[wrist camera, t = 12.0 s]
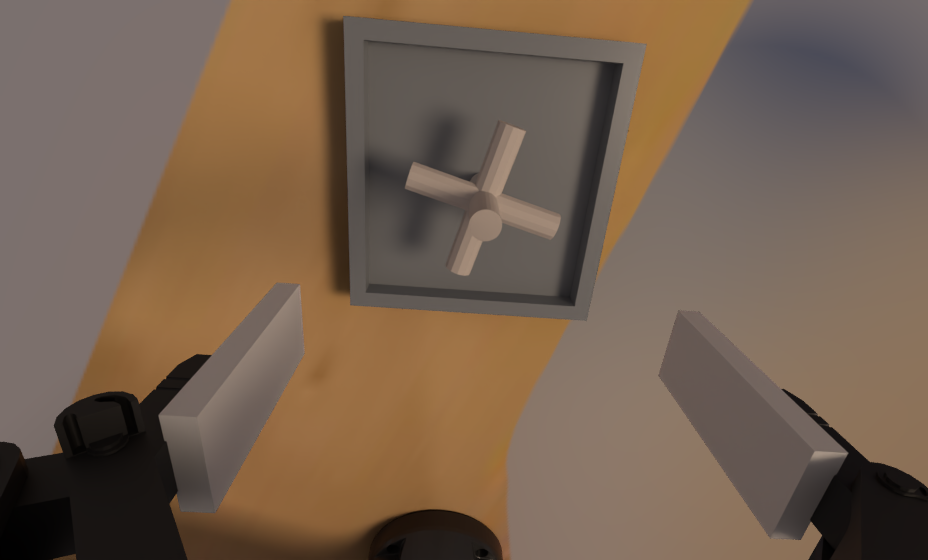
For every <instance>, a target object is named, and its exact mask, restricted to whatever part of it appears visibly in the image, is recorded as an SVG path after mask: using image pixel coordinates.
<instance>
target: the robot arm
mask: <svg viewBox="0 0 928 560" xmlns="http://www.w3.org/2000/svg"><path fill="white" fill-rule="evenodd" d="M304 354H305V353H304V338H303V323H302V308H301V293H300V284H289V283H276V284H275V285H274V286H273V288H272V289H271V290H270V291H269V292H268V293H267V294H266V295H265V297H264V298H263V299H262V300H261V301H260V302H259V303H258V304H257V305H256V307H255V308H254V309H253V310H252V311H251V312H250V313H249V314H248V316H247V317H246V318H245V319H244V320H243V321H242V322H241V323H240V324H239V326H238V327H237V328H236V329H235V330H234V331H233V332H232V333H231V335H230V336H229V337H228V338H227V339H226V340H225V341H224V342H223V343H222V345H221V346H220V347H219V348H218V349H217V350H216V351H215V352H214V354H213V355H201V354H196V355H194V356H193V357H191V358H189V359H187V360H186V361H184V362H182V363H180V364H178V365H177V367H176V368H175V369H174V370H173V371H172V372H171V373H170V374H169V375H168V376H167V377H166V379H164V380H163V381H162V382H161V383H160V384H159V385H158V386H157V387H156V390H153V391H152V392H151V393H150V394H149V395H148V396H147V397H146V398H145V399H144V400H143V401H142V402H141V403H140V404H139V402H138V399H137V398H136V397H135V396H134V395H133V394H130V393H126V392H106V393H101V394H96V395H92V396H90V397H87V398H84V399H82V400H79V401H77V402H76V403H74V404H72V405H71V406H69V407H67V408H66V409H64V410H63V412H62V413H61V414H59V415H58V417H57V418H56V421H55V424H54V428H55V431H56V433H57V436H58V439H59V442H60V445H61V448H62V450H63V453H59V454H53V455H47V456H41V457H35V458H29V459H24V457H23V455H22V452H21V450H20V448H19V447H17V446H16V445H15V444H13V443H7V442H0V560H53V559H55V558H59V557H63V556H67V555H72V554H76V559H77V560H187V557H186V554H185V551H184V547H183V544H182V541H181V538H180V535H179V532H178V529H177V526H176V523H175V520H174V517H173V514H172V510H171V507H170V504H169V503H170V502H171V500H172V499H173V498H174V496H175V495H176V493H177V497H178V502H179V506H180V510H181V512H203V513H215V512H216V511H217V509H218V507H219V505H220V504H221V502H222V500H223V498H224V496H225V495H226V493H227V491H228V489H229V487H230V486H231V484H232V482H233V480H234V479H235V477H236V475H237V473H238V471H239V470H240V468H241V466H242V464H243V462H244V461H245V459H246V457H247V455H248V454H249V452H250V450H251V448H252V446H253V445H254V443H255V441H256V439H257V437H258V436H259V434H260V432H261V430H262V429H263V427H264V425H265V423H266V421H267V420H268V418H269V416H270V414H271V413H272V411H273V409H274V407H275V405H276V404H277V402H278V400H279V398H280V396H281V395H282V393H283V391H284V389H285V388H286V386H287V384H288V382H289V380H290V379H291V377H292V375H293V373H294V371H295V370H296V368H297V366H298V364H299V363H300V361H301V359H302V357H303V355H304ZM659 377H660V378H661V380H662V381H663V383H664V384H665V386H666V387H667V389H668V390H669V392H670V393H671V394H672V396H673V397H674V399H675V400H676V402H677V403H678V405H679V406H680V407H681V409H682V410H683V412H684V413H685V415H686V416H687V418H688V419H689V421H690V422H691V424H692V425H693V427H694V428H695V429H696V431H697V432H698V434H699V435H700V437H701V438H702V440H703V441H704V443H705V444H706V446H707V447H708V448H709V450H710V451H711V453H712V454H713V456H714V457H715V458H716V460H717V462H718V463H719V464H720V466H721V467H722V469H723V470H724V472H725V473H726V475H727V476H728V478H729V479H730V481H731V482H732V483H733V485H734V486H735V488H736V489H737V491H738V492H739V493H740V495H741V497H742V498H743V499H744V501H745V502H746V504H747V505H748V507H749V508H750V510H751V511H752V513H753V514H754V516H755V517H756V518H757V520H758V521H759V523H760V524H761V526H762V527H763V528H764V530H765V531H766V533H767V534H768V536H769V537H770V538H774V539H795V540H801V538H802V536H803V535H804V533H805V531H806V529H807V527H808V525H809V524H810V522H812V523H813V524H814V526H815V527H816V528H817V529H818V531H819V532H820V533H821V534H822V537H821V539H820V540H819V542H818V544H817V546H816V547H815V549H814V551H813V553H812V554H811V556H810V558H809V560H928V488H927V487H926V486H925V485H924V484H922V483H921V482H919V481H918V480H916V479H915V478H913V477H912V476H911V475H909V474H906V473H905V472H903V471H901V470H899V469H897V468H894V467H891V466H888V465H885V464H881V463H874V462H869V461H868V460H867V459H866V458H865V457H864V456H863V455H862V454H860V453H859V452H858V451H857V450H856V449H855V448H854V447H853V446H852V445H851V444H850V443H848V442H847V441H846V440H845V439H844V438H843V437H842V436H841V435H840V434H839V433H838V432H837V431H835V430H834V429H833V428H832V427H829V424H828V423H827V422H826V421H825V420H823V419H822V418H821V417H820V416H819V417H818V416H817V413H816V412H815V411H814V410H813V409H812V408H811V407H809V406H808V405H807V404H806V403H805V402H804V401H802V400H801V399H799V398H798V397H796V396H795V395H793V394H791V393H790V392H788V391H786V390H785V389H780V388H779V387H778V386H777V385H776V384H775V383H774V382H773V381H772V380H771V379H770V378H769V377H768V376H767V375H765V373H763V372H762V371H761V370H760V369H759V368H758V367H757V366H756V365H755V364H754V363H753V362H752V361H751V360H750V359H749V358H747V356H746V355H744V354H743V353H742V352H741V351H740V350H739V349H738V348H737V347H736V346H735V345H734V344H733V343H732V342H731V341H730V340H729V339H728V338H727V337H725V336H724V335H723V334H722V333H721V332H720V331H719V330H718V329H717V328H716V327H715V326H714V325H713V324H712V323H711V322H709V320H708V319H707V318H705V317H704V316H703V315H702V314H701V313H700V312H695V311H680V310H679V311H678V313H677V317H676V320H675V323H674V326H673V330H672V333H671V336H670V340H669V343H668V346H667V350H666V353H665V356H664V359H663V362H662V366H661V369H660V372H659ZM368 560H503V557H502V549H501V545H500V543H499V541H498V539H497V537H496V536H495V535H494V533H493V532H492V531H491V530H490V529H489V528H487V527H486V526H485V525H483V524H482V523H480V522H479V521H477V520H475V519H473V518H470V517H468V516H465V515H462V514H458V513H453V512H447V511H424V512H418V513H413V514H409V515H406V516H403V517H400V518H398V519H396V520H394V521H392V522H391V523H389V524H388V525H386V526H385V527H384V528H383V529H381V530H380V532H379V533H378V534H377V535H376V537H375V538H374V540H373V542H372V544H371V548H370V553H369V558H368Z"/></svg>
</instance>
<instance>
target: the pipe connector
mask: <svg viewBox="0 0 928 560" xmlns="http://www.w3.org/2000/svg"><path fill="white" fill-rule="evenodd" d="M525 133H526V130H524V129H522V128H520V127H517V126H515V125H512V124H510V123H507V122H504V121H501V120H498V123H497V125H496V128H495V131H494V133H493V136H492V139H491V142H490V144H489V147H488V150H487V152H486V155H485V158H484V161H483V163H482V166H481V169H480V172H479V173H477V174H475V175H474V176H473V177H472V178H471V180H470V182H469V181H466V180H463V179H461V178H458V177H455V176H452V175H450V174H447V173H444V172H441V171H438V170H436V169H433V168H430V167H427V166H425V165H422V164H419V163H416V162H413V164H412V166H411V169H410V172H409V175H408V178H407V182H406V185H405V189H407V190H410V191H413V192H416V193H418V194H421V195H424V196H427V197H430V198H433V199H436V200H438V201H441V202H444V203H447V204H450V205H453V206H455V207H458V208H461V209H464V210H465V212H464V215H463V218H462V220H461V223H460V226H459V229H458V231H457V234H456V237H455V240H454V242H453V245H452V248H451V250H450V253H449V256H448V259H447V261H446V264H445V266H446V268H447V269H448V270H450V271H451V272H453V273H455V274H458V275H463V276H466V275H469V274H470V272H471V270H472V267H473V264H474V262H475V259H476V257H477V254H478V252H479V249H480V247H481V244H482V242H483V241H490V240H493V239H495V238H496V237H497V236H498V235H499V234H500V232H501V229H502V223H504V224H507V225H509V226H512V227H515V228H518V229H521V230H524V231H527V232H529V233H532V234H535V235H538V236H541V237H544V238H546V239H549V240H551V239H552V238H553V237H554V236H555V234H556V232H557V230H558V227H559V225H560V220H561V216H560V214H558V213H555V212H552V211H550V210H547V209H544V208H541V207H538V206H536V205H533V204H530V203H527V202H525V201H522V200H519V199H516V198H513V197H511V196H508V195H505V194H502V191H503V189H504V186H505V184H506V181H507V179H508V176H509V174H510V171H511V168H512V166H513V163H514V161H515V158H516V156H517V153H518V151H519V148H520V146H521V143H522V141H523V138H524V136H525Z"/></svg>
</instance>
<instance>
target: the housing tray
mask: <svg viewBox="0 0 928 560" xmlns="http://www.w3.org/2000/svg"><path fill="white" fill-rule="evenodd" d="M343 20H344V60H345V101H346V142H347V183H348V224H349V264H350V305H355V306H371V307H386V308H401V309H416V310H432V311H447V312H462V313H477V314H493V315H508V316H523V317H538V318H554V319H569V320H585V321H586V320H587V317H588V312H589V307H590V303H591V298H592V294H593V289H594V285H595V280H596V275H597V271H598V266H599V261H600V257H601V252H602V248H603V243H604V238H605V234H606V229H607V224H608V220H609V215H610V211H611V206H612V201H613V197H614V192H615V188H616V183H617V178H618V174H619V169H620V164H621V160H622V155H623V151H624V146H625V141H626V137H627V132H628V128H629V123H630V118H631V114H632V109H633V104H634V100H635V95H636V91H637V86H638V81H639V77H640V72H641V67H642V63H643V58H644V54H645V49H646V44H642V43H632V42H621V41H610V40H599V39H588V38H577V37H567V36H556V35H545V34H534V33H523V32H512V31H501V30H491V29H480V28H469V27H458V26H447V25H436V24H426V23H415V22H404V21H393V20H382V19H371V18H360V17H350V16H343ZM498 120H501V121H504V122H507V123H510V124H512V125H515V126H517V127H520V128H522V129H524V130H526V133H525V136H524V138H523V141H522V143H521V146H520V148H519V151H518V153H517V156H516V158H515V161H514V163H513V166H512V168H511V171H510V174H509V176H508V179H507V181H506V184H505V186H504V189H503V191H502V194H505V195H508V196H511V197H513V198H516V199H519V200H522V201H525V202H527V203H530V204H533V205H536V206H538V207H541V208H544V209H547V210H550V211H552V212H555V213H558V214H560V216H561V220H560V225H559V227H558V230H557V232H556V234H555V236H554V237H553V238H552V239H551V240H549V239H546V238H544V237H541V236H538V235H535V234H532V233H529V232H527V231H524V230H521V229H518V228H515V227H512V226H509V225H507V224H504V223H502V229H501V232H500V234H499V235H498V236H497V237H496V238H495V239H493V240H490V241H483V242H482V244H481V247H480V249H479V252H478V254H477V257H476V259H475V262H474V264H473V267H472V270H471V272H470V274H469V275H466V276H463V275H458V274H455V273H453V272H451V271H450V270H448V269H447V268H446V266H445V264H446V261H447V259H448V256H449V253H450V250H451V248H452V245H453V242H454V240H455V237H456V234H457V231H458V229H459V226H460V223H461V220H462V218H463V215H464V212H465V210H464V209H461V208H458V207H455V206H453V205H450V204H447V203H444V202H441V201H438V200H436V199H433V198H430V197H427V196H424V195H421V194H418V193H416V192H413V191H410V190H407V189H405V185H406V182H407V178H408V175H409V172H410V169H411V166H412V164H413V162H416V163H419V164H422V165H425V166H427V167H430V168H433V169H436V170H438V171H441V172H444V173H447V174H450V175H452V176H455V177H458V178H461V179H463V180H466V181H469V182H470V180H471V178H472V177H473V176H474V175H475V174H477V173H479V172H480V169H481V166H482V163H483V161H484V158H485V155H486V152H487V150H488V147H489V144H490V142H491V139H492V136H493V133H494V131H495V128H496V125H497V123H498Z"/></svg>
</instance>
